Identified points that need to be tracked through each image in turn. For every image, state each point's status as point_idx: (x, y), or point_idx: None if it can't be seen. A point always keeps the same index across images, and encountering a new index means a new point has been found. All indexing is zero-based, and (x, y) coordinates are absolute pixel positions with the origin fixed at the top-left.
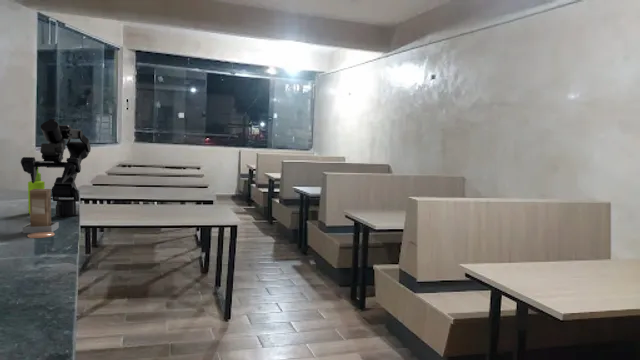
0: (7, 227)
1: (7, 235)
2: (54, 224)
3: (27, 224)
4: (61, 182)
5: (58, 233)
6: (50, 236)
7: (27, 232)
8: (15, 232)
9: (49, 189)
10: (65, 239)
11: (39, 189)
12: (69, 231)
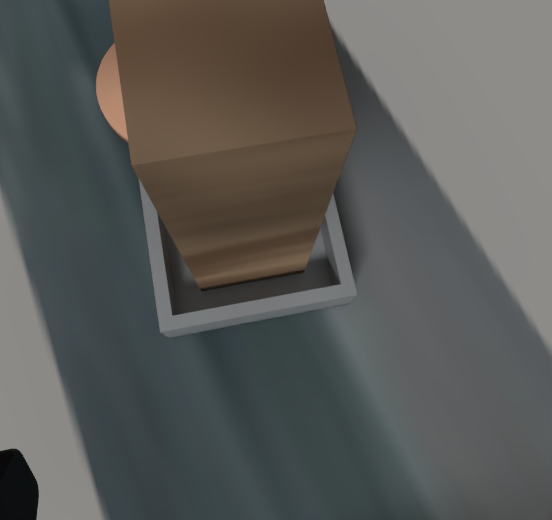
0: (539, 353)
1: (377, 110)
2: (149, 229)
3: (335, 211)
4: (11, 460)
5: (108, 185)
6: (105, 63)
7: None
8: (384, 194)
9: (124, 107)
10: (7, 33)
11: (254, 74)
12: (60, 252)
